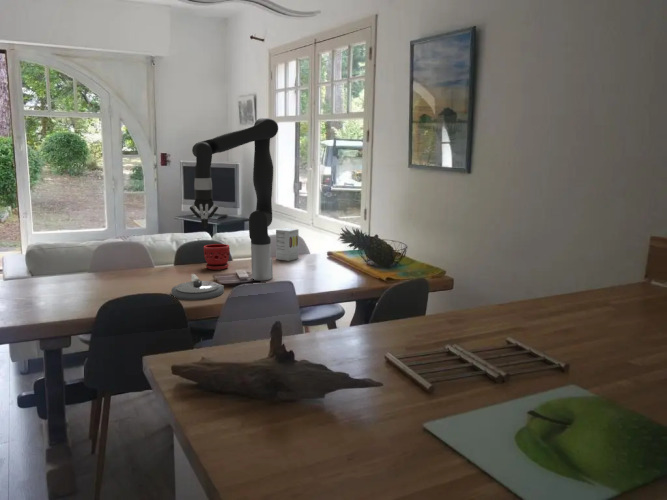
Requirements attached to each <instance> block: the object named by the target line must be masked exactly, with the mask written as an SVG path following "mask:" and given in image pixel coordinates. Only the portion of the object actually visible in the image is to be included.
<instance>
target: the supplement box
mask: <svg viewBox="0 0 667 500" xmlns="http://www.w3.org/2000/svg"><path fill="white" fill-rule="evenodd" d="M275 259H276V260H280V261H287V262H290V261H294V260H297V259H299V229H298V228H292V227H291V228H290V227H283V228H278V229H275Z"/></svg>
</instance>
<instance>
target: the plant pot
mask: <svg viewBox="0 0 667 500" xmlns="http://www.w3.org/2000/svg"><path fill="white" fill-rule="evenodd" d="M230 248H231V247H230V245H229V244H225V243H213V244H206V245H204V246H203V256H204V260H205V262H206V264H205V267H206V268H207V270H208V269H209V270H215V271H216V270H217V271H219V270H225V269H227V268H229V265H230V264H229V263H228V262H229V259H230V251H231V250H230Z"/></svg>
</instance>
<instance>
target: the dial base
mask: <svg viewBox="0 0 667 500" xmlns="http://www.w3.org/2000/svg"><path fill="white" fill-rule="evenodd" d="M218 284H219V288H218V289H217V290H215V291H212V292H207V293H198V294H188V293H181V292H178V291H177V290H176V286H177V285H175V286H174V287H172V288H171V296H172V295H173V296H175V297H176V298H175V297H174V298H175V299H179V300H186V301H188V300H189V301H197V300H209V299H212V298H217V297H220V296H222V295H223V294H224V292H225V291H224V290H225V289H224V287H225V285H222V284H220V283H218ZM173 296H172V297H173Z"/></svg>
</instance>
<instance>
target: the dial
mask: <svg viewBox="0 0 667 500" xmlns="http://www.w3.org/2000/svg"><path fill="white" fill-rule="evenodd" d="M190 276H191V277H190V279H191V281H186V282H182V283H179V284H177V285H175V286H176V290H177V291H178V292H181V293H188V294H198V293H207V292H212V291H215V290H217V289H218V288H219V284H220V283H217V282H215V281H211V280H200V277H198V276H197V274H195V273H191V274H190Z"/></svg>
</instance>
